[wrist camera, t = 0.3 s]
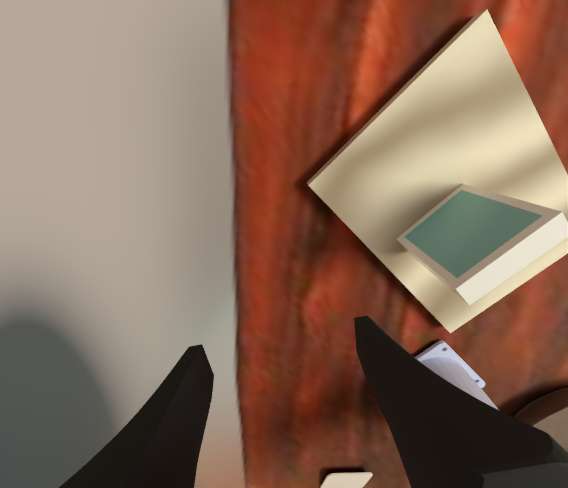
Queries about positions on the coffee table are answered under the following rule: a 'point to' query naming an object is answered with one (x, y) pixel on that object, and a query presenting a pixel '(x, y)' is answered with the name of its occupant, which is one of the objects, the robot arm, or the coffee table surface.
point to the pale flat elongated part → (346, 480)
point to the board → (446, 161)
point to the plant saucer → (549, 415)
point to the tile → (482, 239)
